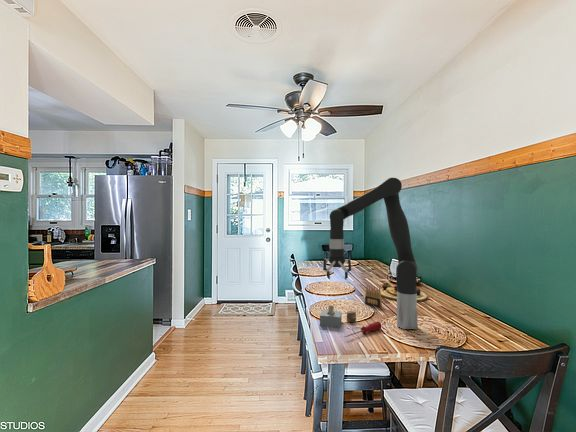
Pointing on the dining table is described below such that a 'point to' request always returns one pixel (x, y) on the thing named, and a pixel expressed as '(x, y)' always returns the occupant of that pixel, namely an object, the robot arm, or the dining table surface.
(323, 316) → the block
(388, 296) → the wooden plate with food
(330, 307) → the birch dowel
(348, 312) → the walnut stub
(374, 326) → the screwdriver
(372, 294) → the ammunition clip
